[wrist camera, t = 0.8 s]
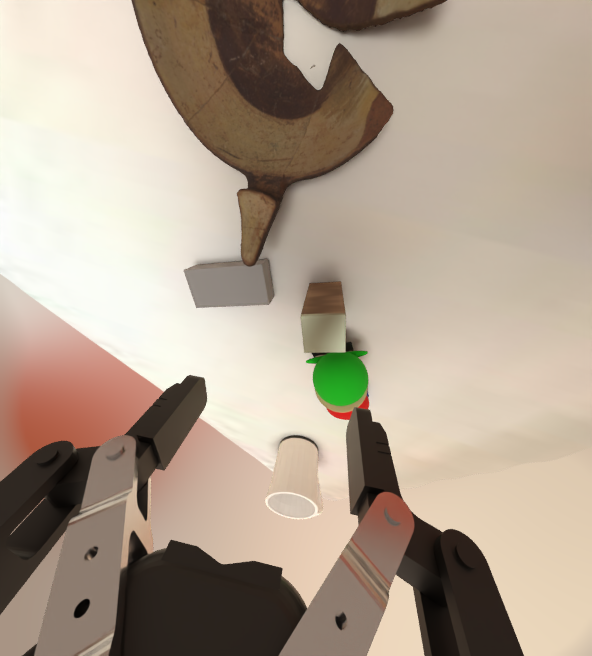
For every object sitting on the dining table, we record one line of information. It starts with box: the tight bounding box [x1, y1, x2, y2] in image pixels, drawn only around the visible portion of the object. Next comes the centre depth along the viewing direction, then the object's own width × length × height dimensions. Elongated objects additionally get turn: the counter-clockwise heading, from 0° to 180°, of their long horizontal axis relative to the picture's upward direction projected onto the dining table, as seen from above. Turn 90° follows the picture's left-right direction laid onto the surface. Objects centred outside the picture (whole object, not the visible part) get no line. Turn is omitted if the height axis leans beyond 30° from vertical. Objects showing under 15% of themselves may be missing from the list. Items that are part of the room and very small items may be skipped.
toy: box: [306, 342, 369, 420], centre depth 31 cm, size 8×8×15 cm
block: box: [301, 282, 346, 353], centre depth 25 cm, size 4×4×10 cm
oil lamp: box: [132, 0, 447, 267], centre depth 16 cm, size 22×30×8 cm
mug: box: [265, 436, 323, 519], centre depth 41 cm, size 11×9×10 cm
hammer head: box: [184, 259, 274, 308], centre depth 28 cm, size 10×5×3 cm, turn 96°
